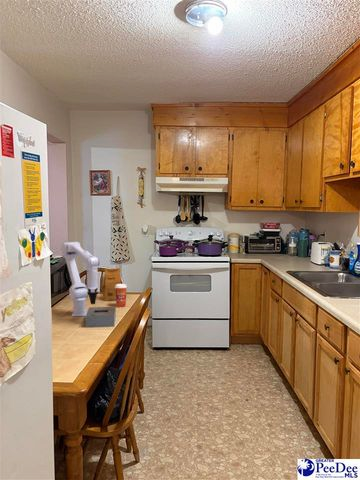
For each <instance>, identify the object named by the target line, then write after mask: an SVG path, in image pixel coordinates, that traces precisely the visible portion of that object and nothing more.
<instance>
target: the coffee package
mask: <svg viewBox="0 0 360 480" xmlns="http://www.w3.org/2000/svg"><path fill="white" fill-rule="evenodd" d="M121 279H122V278H121V267H115V268H104V275H103V281H102V282H103V284H102V298H103V301H105V302H108V301H112V302H115V301H116V288H115V286H116V285H117V284H122V283H121V282H122V281H121Z"/></svg>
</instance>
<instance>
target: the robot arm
mask: <svg viewBox="0 0 360 480" xmlns="http://www.w3.org/2000/svg"><path fill="white" fill-rule="evenodd" d="M60 247H61V248H60V250H61V254H62V257H63V258H64V259H65V263H66V265H67V269H68V273H69V277H70V280H71V283H72V285H71V286H70V287H69V289H68V290H69V298H70V300H71V301H72V314H71V317H85V316H86V314H87V312H88V310H87V309H86V306H87V303H86V300H87V298H88V297H89V302H90V304H91V305H96V301H97V296H98V294H99V291H98V288H99V284H98V283H99V280H98V279H99V274H98V273H99V271H98V267H99V266H100V265H101V264H100V258H99V257H98V256H97V255H92V254H91V252H89V251H88V250H84V249H83V248H82V247H81V243H80V242H79V241H71V242H70V241H68V242H62V244H61V246H60ZM78 256H79V258H80V260H81V261H82V262H84V265H85V271H86V279H87V280H86V283H87V284H85V283H83V282H82V280H81V277H80V274H79V270H78V265H77V264H76V260H75V259H76V258H77V257H78Z"/></svg>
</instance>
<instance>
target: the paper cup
mask: <svg viewBox="0 0 360 480" xmlns="http://www.w3.org/2000/svg"><path fill="white" fill-rule="evenodd" d="M115 288H116V307H117V308H125V307H126V304H127V288H128V286H127V284H125V283H121V284H117V285H116V286H115Z"/></svg>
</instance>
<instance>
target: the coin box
mask: <svg viewBox="0 0 360 480" xmlns="http://www.w3.org/2000/svg"><path fill="white" fill-rule="evenodd" d="M116 307H117V306H94V307H93V306H91V307H88V309H87V314H86V316H84V317H85V319H84V320H85V321H84V322H85V328H103V327H105V328H106V327H115V325H116V317H117V316H116V315H117V314H116V313H117V311H116V309H117V308H116Z"/></svg>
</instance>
